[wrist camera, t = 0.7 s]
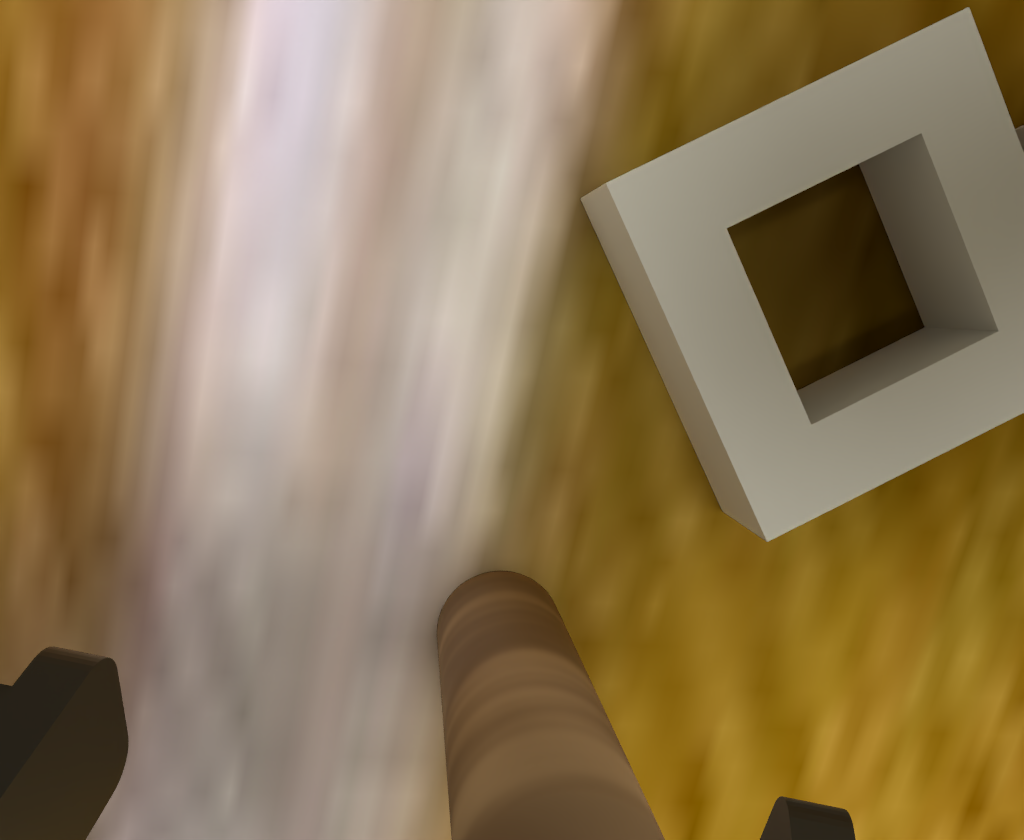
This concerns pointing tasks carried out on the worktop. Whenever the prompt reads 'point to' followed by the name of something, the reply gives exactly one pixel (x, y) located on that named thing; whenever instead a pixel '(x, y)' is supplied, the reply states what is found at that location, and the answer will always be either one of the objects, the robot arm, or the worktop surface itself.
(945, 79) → the socket stand
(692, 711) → the worktop surface
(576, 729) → the peg
